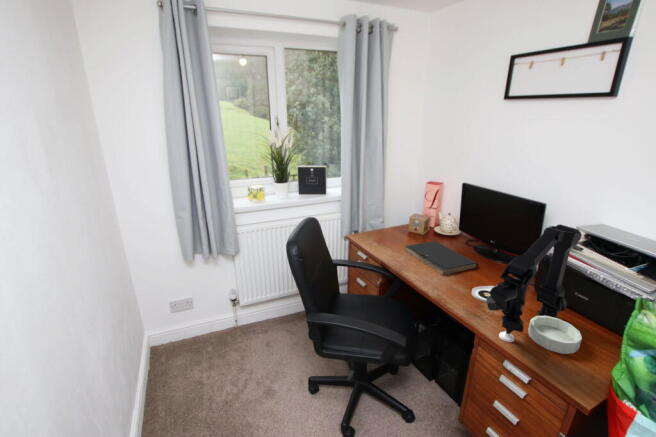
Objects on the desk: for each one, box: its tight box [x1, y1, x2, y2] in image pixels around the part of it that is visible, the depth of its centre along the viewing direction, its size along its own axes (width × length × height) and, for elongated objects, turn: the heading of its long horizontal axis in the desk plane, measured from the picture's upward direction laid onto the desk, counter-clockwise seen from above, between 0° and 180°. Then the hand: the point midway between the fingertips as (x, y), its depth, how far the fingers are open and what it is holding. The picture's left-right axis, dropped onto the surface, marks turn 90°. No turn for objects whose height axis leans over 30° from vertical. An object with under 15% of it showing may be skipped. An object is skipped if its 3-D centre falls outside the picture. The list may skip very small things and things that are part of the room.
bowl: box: [528, 315, 583, 355], centre depth 113 cm, size 15×15×4 cm
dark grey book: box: [404, 240, 479, 276], centre depth 178 cm, size 33×4×24 cm
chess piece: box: [498, 330, 515, 343], centre depth 113 cm, size 5×5×10 cm
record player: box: [471, 283, 498, 303], centre depth 142 cm, size 12×3×20 cm
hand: (507, 331), depth 114 cm, fingers closed on chess piece, 2 cm apart
